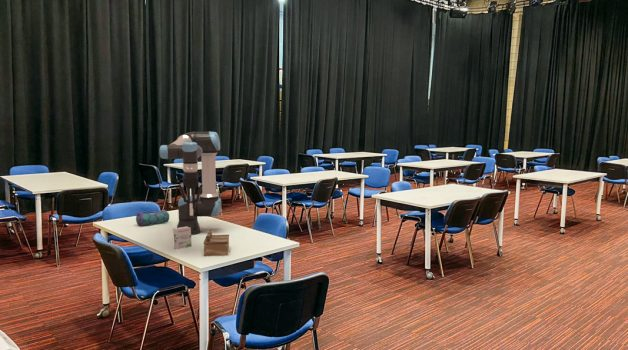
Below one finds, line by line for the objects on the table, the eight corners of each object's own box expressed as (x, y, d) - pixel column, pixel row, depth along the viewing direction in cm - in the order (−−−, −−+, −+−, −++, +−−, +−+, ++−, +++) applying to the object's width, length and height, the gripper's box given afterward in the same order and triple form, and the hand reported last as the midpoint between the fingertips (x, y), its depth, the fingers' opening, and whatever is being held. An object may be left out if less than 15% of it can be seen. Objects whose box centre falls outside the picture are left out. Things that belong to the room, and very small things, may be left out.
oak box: (207, 249, 267) (207, 237, 267) (229, 248, 269) (228, 236, 268) (204, 257, 252) (203, 244, 251) (227, 256, 253) (227, 243, 252)
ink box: (187, 246, 274) (187, 225, 273) (191, 247, 271) (191, 227, 269) (173, 248, 269) (173, 228, 267) (177, 250, 265) (176, 229, 264)
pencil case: (164, 221, 341) (163, 208, 340) (169, 223, 335) (169, 209, 334) (135, 225, 327) (135, 211, 326) (141, 227, 321) (140, 213, 320)
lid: (206, 236, 267) (206, 229, 266) (229, 235, 268) (229, 229, 268) (203, 244, 250) (203, 237, 250) (227, 243, 252) (227, 236, 252)
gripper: (176, 172, 249) (178, 216, 252) (202, 172, 251) (203, 216, 253) (179, 170, 256) (180, 214, 259) (203, 170, 258) (204, 213, 261)
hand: (191, 215), depth 256 cm, fingers closed
